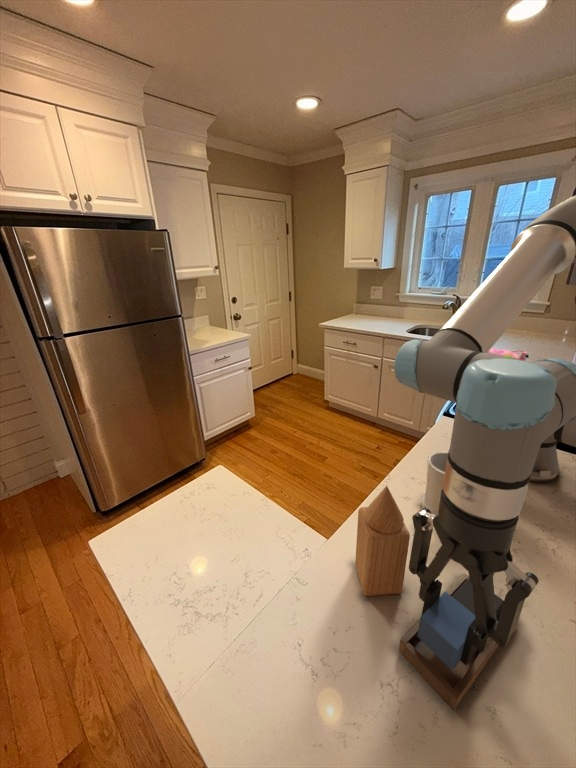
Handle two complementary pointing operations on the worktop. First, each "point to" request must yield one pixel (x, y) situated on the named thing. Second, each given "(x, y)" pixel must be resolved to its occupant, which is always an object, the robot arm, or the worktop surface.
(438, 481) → the cup
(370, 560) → the decorative item
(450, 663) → the slate blue block
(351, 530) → the worktop surface
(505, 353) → the pencil case
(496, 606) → the dark grey block
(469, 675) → the holder
